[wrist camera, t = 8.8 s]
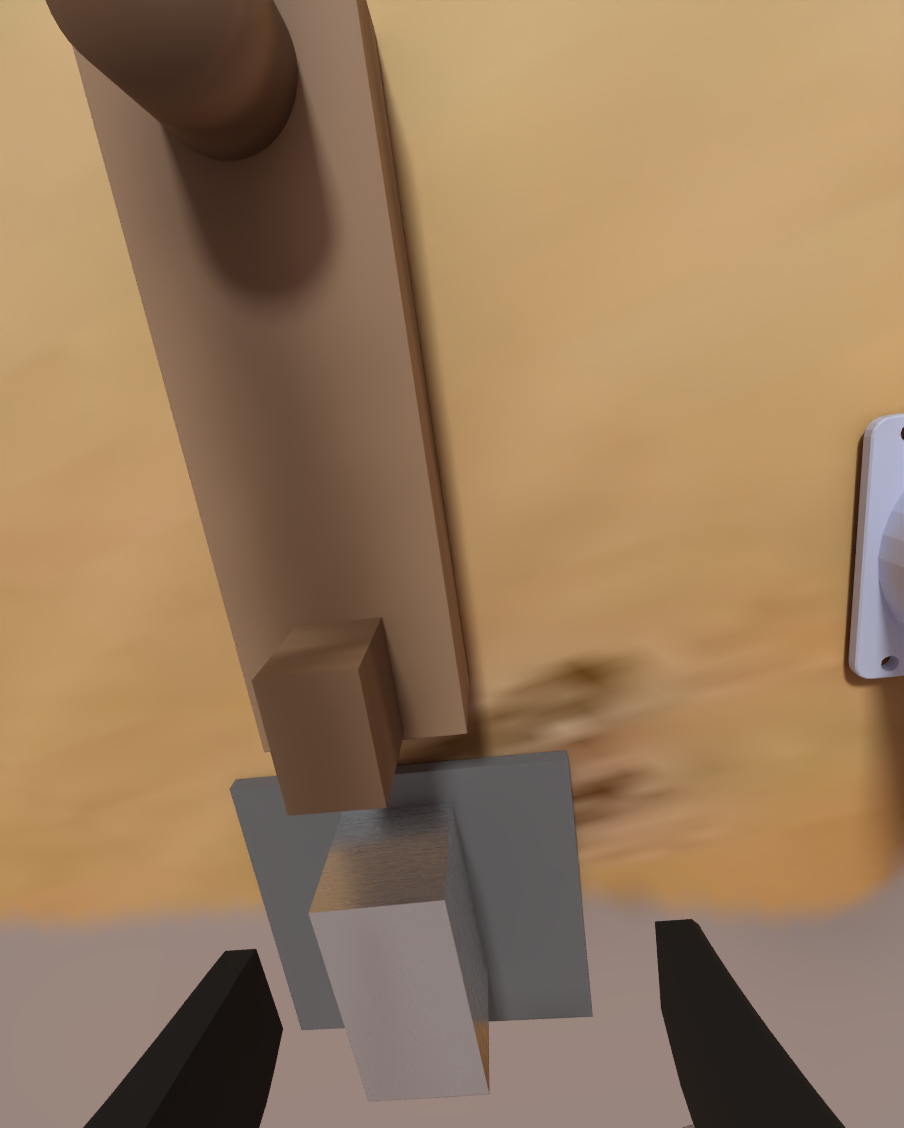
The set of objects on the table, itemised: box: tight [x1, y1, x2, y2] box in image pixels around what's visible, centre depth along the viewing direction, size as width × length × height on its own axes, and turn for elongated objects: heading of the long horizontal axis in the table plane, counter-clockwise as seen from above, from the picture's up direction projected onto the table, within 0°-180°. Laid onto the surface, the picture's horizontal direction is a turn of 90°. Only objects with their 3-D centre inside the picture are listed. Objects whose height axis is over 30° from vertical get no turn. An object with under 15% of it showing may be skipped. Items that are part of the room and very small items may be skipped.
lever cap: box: [309, 801, 489, 1102], centre depth 19 cm, size 4×8×4 cm, turn 10°
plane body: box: [46, 0, 469, 816], centre depth 13 cm, size 6×18×6 cm, turn 8°
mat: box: [230, 750, 592, 1030], centre depth 21 cm, size 12×12×1 cm
